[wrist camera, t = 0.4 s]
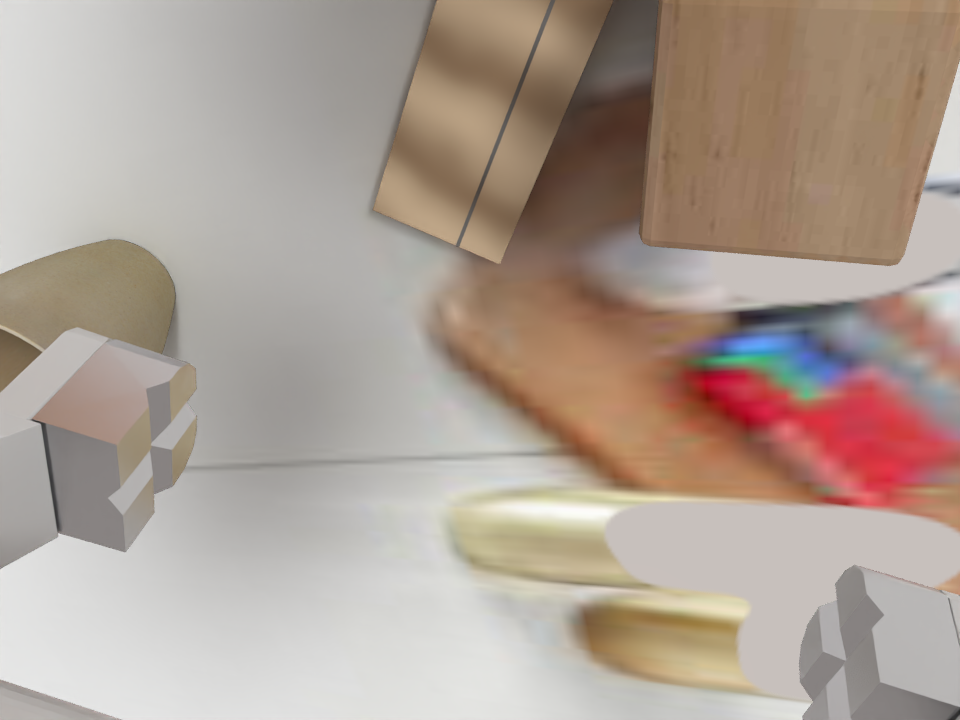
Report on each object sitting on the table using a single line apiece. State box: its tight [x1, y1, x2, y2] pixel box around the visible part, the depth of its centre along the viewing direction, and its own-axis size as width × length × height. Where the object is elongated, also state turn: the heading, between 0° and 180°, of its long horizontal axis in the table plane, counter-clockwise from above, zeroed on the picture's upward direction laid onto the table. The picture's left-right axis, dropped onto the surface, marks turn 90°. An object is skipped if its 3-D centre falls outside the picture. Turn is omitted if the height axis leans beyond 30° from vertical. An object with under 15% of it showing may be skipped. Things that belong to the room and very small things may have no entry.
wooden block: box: [639, 0, 960, 266], centre depth 40 cm, size 10×10×20 cm
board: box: [373, 0, 614, 264], centre depth 52 cm, size 24×9×2 cm, turn 161°
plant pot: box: [0, 240, 175, 392], centre depth 64 cm, size 15×15×16 cm
